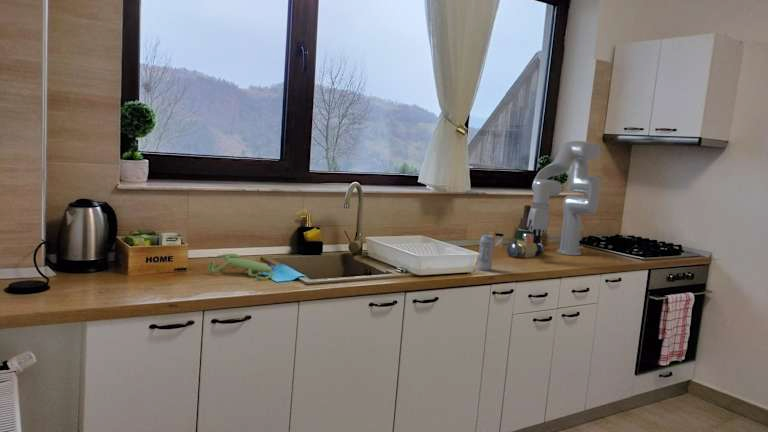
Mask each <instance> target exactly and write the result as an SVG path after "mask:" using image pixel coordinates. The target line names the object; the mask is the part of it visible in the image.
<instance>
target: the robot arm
mask: <svg viewBox="0 0 768 432" xmlns="http://www.w3.org/2000/svg"><path fill="white" fill-rule="evenodd" d="M600 153H601V146H600V144H599V143H598V142H597V141H596V142H595V141H581V140H572V141H571V140H570V141H566V142H564V143H563V144H562V145H561V147H560V149H559V151H558V153H557V155H556V156H555V158H554V160H553V162H551V163H550V164H548V165H546V166H544V167H543V168H541V169H540V170H539V171H538V172H537V174H536V176H535V177H534V179H533V181H532V185H531V189H532V193H533V194H532V203H531V204H532V205H531V208H530V212H529V216H528V222H527V227H528V228H529V230H528V231H530V232H532V236H533V243H536V244H540V242H541V237H542V235H543V234H544V233H545V232H548V228H549V222H550V209H549V207H550V197H557V196H559V195H560V194H561V193H562V191H563V186H562V183H561V182H560V181H557V180H552V179H550V178H552V177H556V176H559V175H561V174H562V175H563V174H565V173H568V171H569V170H570V168H571V171H570V177H569V184H568V188H569V191H571V192H573V193H577V194H578V195H577V194H568V195H566V196H565V197H564V198H563V201H562V207H563V208H562V209H563V210H562V211H563V214H562V215H563V218H562V226H561V227H562V228H561V236H560V244H559V248H558V249H556V253H557V254H562V255H567V256H581V255H582V253H581V251H580V250H584V246H583V245H581V246H580V239H581V231H582V230H581V229H582V219H581V217H580V215H586V216H587V215H588V216H592V215H595V214H596V213H597V210H598V206H599V199H600V194H601V181H600V180H601V179H600V178H599V177H598V176H594V175H589V167H590V166H589V163H588V161H587V160H596V159H597V158H598V157H599V155H600ZM579 194H586V195H587V196H586V195H579Z"/></svg>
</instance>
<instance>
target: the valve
mask: <svg viewBox="0 0 768 432" xmlns="http://www.w3.org/2000/svg"><path fill="white" fill-rule="evenodd" d="M516 243H517V244H516ZM516 243H515V242H513V243H509V244H508V245H507V247H506V253H507V255H508V256H509V257H510V258H517V257H519V258H520V257H521V258H524V259H526V258H527V259H528V258H535V256H542V255H543V254H544V253H545V246H544V243H542V242H541V241H540V244H536V243H533V244H528V243H527V242H526V239H524V240H517V239H516Z"/></svg>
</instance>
